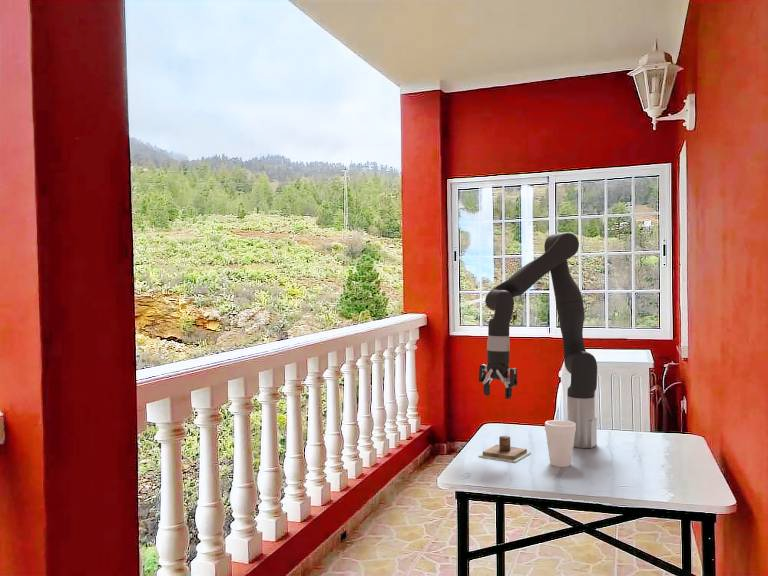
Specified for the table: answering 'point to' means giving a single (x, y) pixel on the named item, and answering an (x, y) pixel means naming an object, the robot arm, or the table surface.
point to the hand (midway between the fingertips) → (497, 397)
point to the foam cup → (560, 441)
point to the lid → (504, 450)
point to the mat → (506, 459)
